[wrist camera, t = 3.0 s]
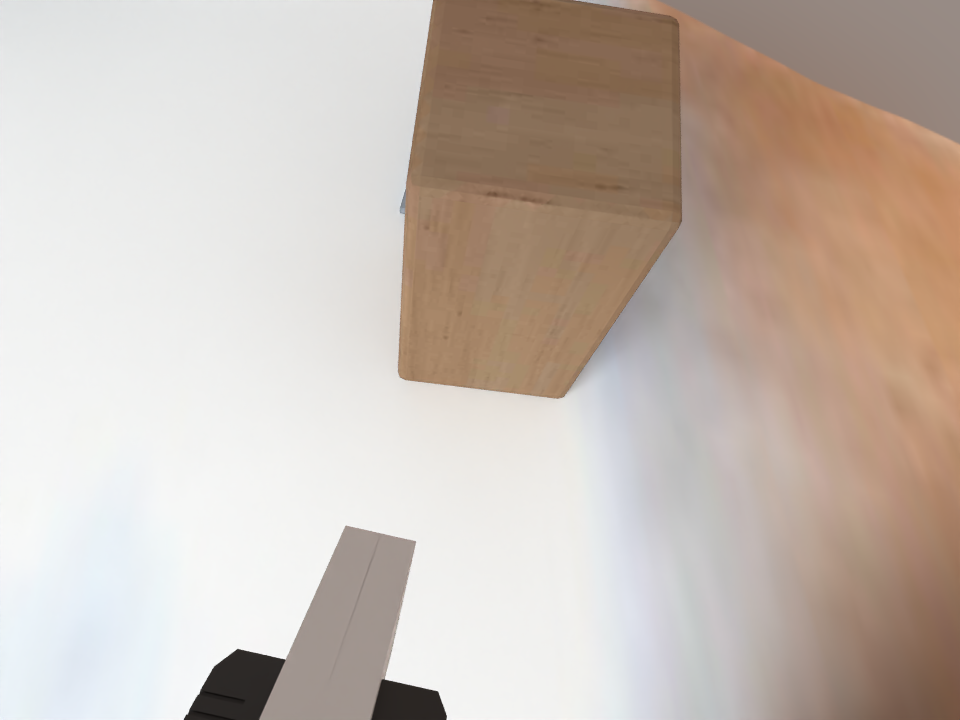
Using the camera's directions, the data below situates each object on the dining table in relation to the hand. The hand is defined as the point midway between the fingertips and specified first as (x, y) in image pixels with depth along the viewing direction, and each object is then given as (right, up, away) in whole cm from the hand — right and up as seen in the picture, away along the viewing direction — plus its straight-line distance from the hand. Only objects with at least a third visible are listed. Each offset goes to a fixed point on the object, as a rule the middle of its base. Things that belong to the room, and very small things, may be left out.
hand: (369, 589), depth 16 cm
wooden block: (+3, +7, +31) cm, 32 cm away
